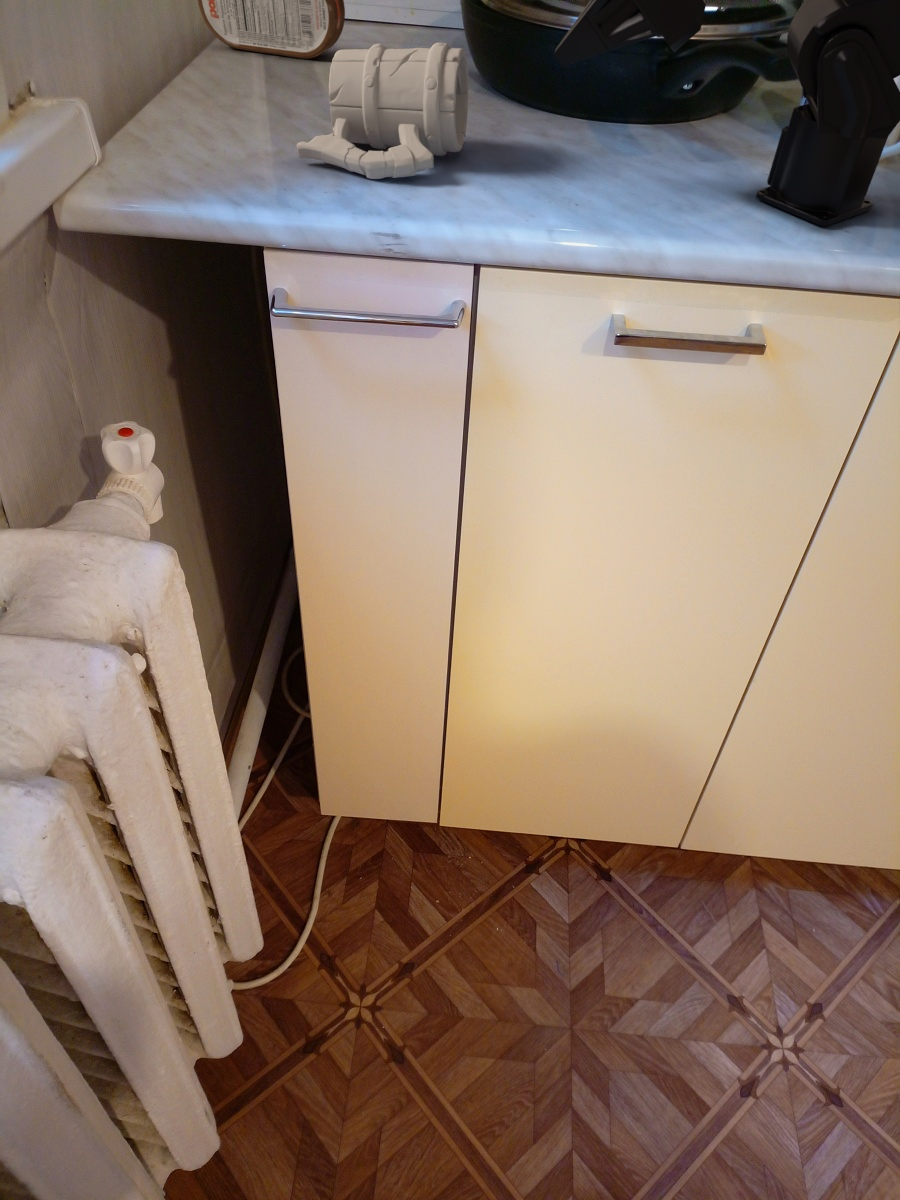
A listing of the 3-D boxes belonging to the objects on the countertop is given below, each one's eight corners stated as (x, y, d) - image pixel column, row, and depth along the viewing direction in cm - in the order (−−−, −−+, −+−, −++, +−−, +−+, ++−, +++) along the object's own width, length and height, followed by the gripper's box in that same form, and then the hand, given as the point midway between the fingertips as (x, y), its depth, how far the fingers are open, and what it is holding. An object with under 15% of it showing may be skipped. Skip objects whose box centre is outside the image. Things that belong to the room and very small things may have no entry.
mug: (466, 19, 65) (313, 14, 67) (441, 132, 61) (278, 125, 62) (471, 110, 72) (333, 104, 74) (449, 217, 68) (303, 208, 69)
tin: (347, 57, 88) (344, -44, 82) (336, 65, 86) (332, -38, 80) (213, 39, 90) (199, -60, 84) (199, 47, 88) (184, -55, 82)
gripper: (682, -267, 56) (500, -67, 65) (696, -264, 43) (466, -16, 52) (768, -103, 61) (588, 61, 70) (803, -56, 48) (577, 138, 57)
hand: (557, 59), depth 62 cm, fingers closed
